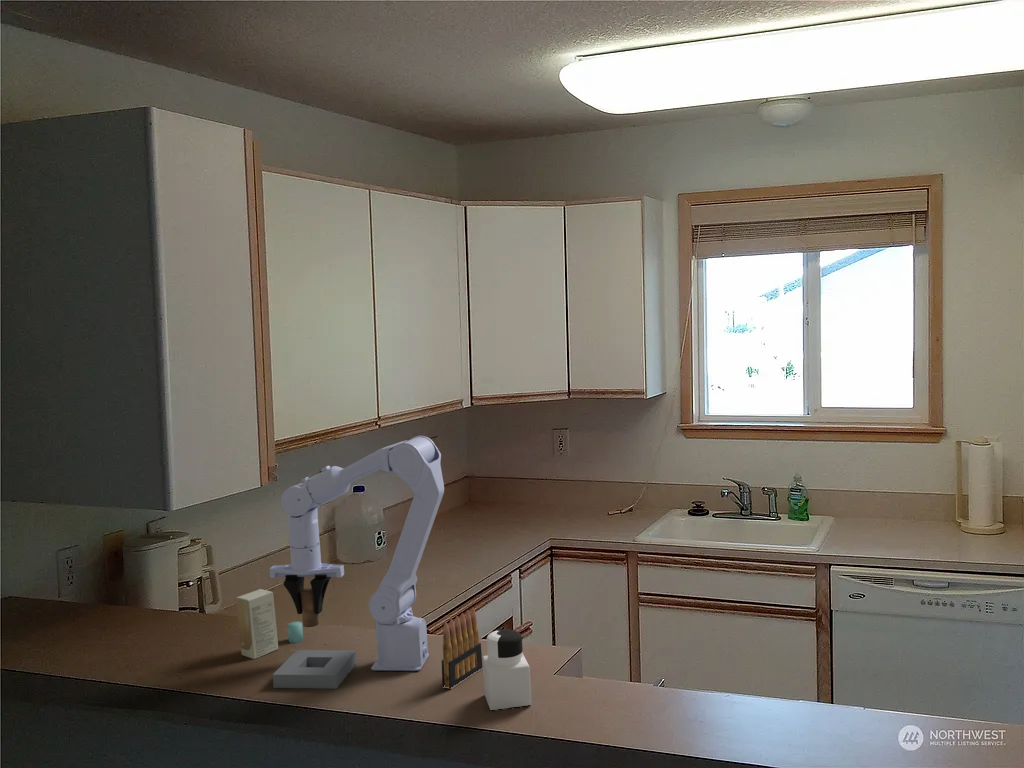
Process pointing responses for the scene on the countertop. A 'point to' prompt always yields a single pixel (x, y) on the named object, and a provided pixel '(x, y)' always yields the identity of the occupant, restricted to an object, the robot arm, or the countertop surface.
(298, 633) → the short teal pin
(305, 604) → the long walnut pin
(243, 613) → the skincare box
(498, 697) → the medicine bottle
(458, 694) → the countertop surface
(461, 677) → the ammunition clip
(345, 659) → the slate hole block
